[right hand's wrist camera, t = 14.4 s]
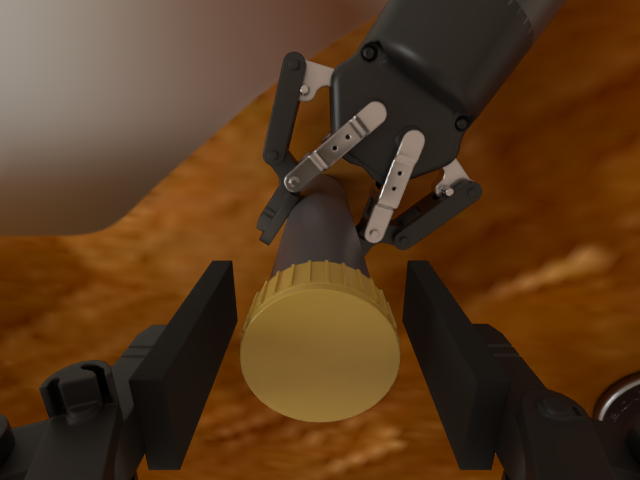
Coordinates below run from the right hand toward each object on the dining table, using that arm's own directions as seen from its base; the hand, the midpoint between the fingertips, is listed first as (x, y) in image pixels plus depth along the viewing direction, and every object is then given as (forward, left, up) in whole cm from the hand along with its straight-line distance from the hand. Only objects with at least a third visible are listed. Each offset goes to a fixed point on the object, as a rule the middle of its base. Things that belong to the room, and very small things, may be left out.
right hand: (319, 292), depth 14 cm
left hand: (-1, -2, -9) cm, 9 cm away
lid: (0, 0, +4) cm, 4 cm away
